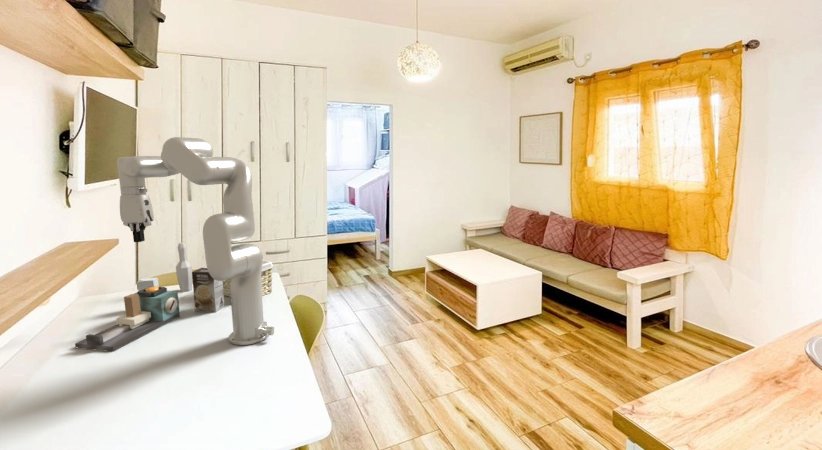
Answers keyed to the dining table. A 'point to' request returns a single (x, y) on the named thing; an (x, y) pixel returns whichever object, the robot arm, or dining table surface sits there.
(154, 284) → the skincare box
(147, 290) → the orange rounded knob
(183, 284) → the faceted bottle
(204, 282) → the coffee box
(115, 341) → the rail board
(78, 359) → the dining table surface
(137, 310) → the carriage
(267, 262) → the storage basket
